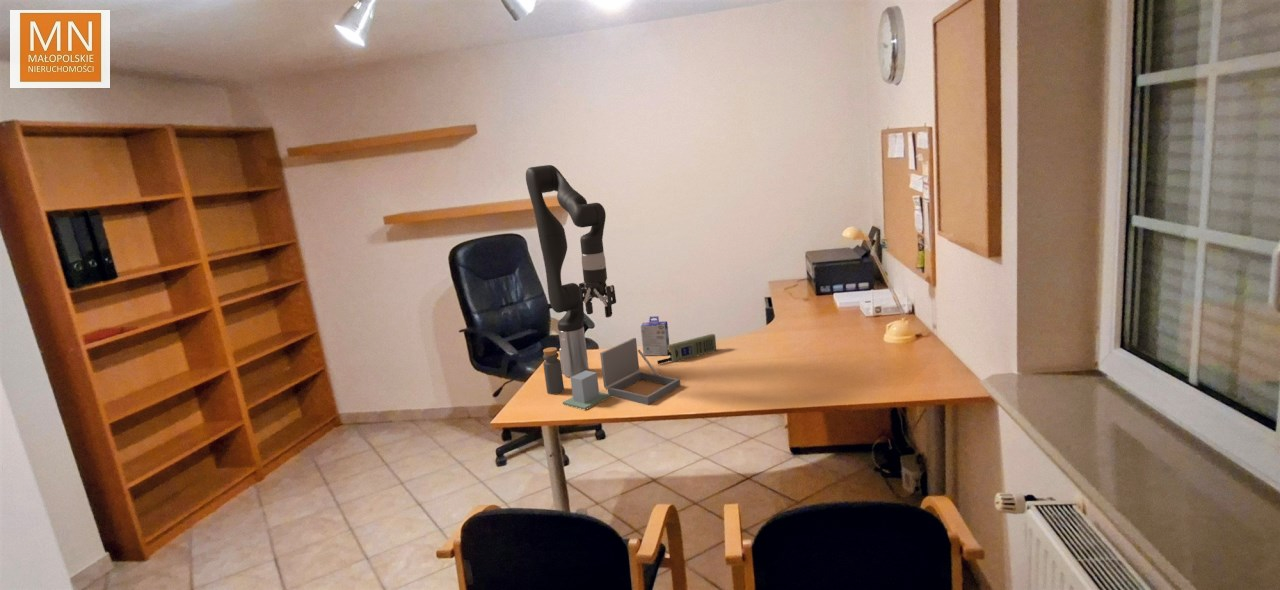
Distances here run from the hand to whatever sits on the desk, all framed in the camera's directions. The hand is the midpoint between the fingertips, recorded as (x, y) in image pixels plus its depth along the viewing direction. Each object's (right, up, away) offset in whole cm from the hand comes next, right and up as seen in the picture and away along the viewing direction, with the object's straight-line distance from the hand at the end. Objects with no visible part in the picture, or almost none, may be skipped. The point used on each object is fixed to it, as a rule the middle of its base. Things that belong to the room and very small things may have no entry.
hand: (599, 315), depth 205 cm
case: (+15, -25, +3) cm, 29 cm away
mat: (-4, -28, 0) cm, 28 cm away
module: (-4, -27, 0) cm, 27 cm away
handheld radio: (+31, -17, +32) cm, 47 cm away
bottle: (-16, -26, +11) cm, 33 cm away
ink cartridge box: (+20, -16, +39) cm, 47 cm away
